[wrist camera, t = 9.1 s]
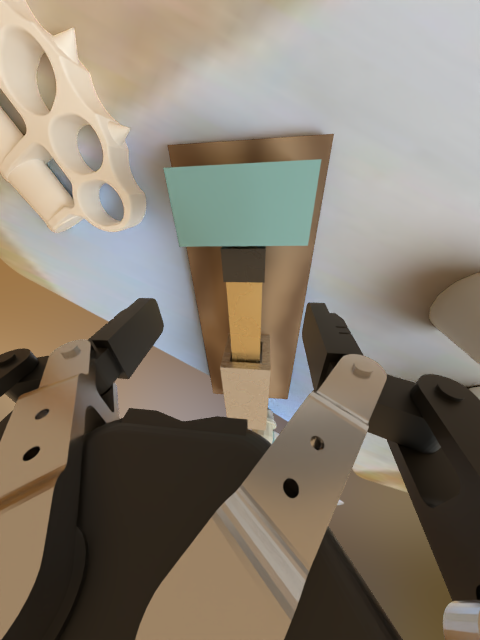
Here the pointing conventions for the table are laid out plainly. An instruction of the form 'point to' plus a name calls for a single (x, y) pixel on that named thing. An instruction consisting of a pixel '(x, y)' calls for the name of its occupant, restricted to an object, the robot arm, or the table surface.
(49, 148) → the knuckle duster
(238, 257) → the plug
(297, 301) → the base board
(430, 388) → the robot arm
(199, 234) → the teal rectangular block
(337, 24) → the table surface
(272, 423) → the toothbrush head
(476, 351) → the cup
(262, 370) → the sleeve
